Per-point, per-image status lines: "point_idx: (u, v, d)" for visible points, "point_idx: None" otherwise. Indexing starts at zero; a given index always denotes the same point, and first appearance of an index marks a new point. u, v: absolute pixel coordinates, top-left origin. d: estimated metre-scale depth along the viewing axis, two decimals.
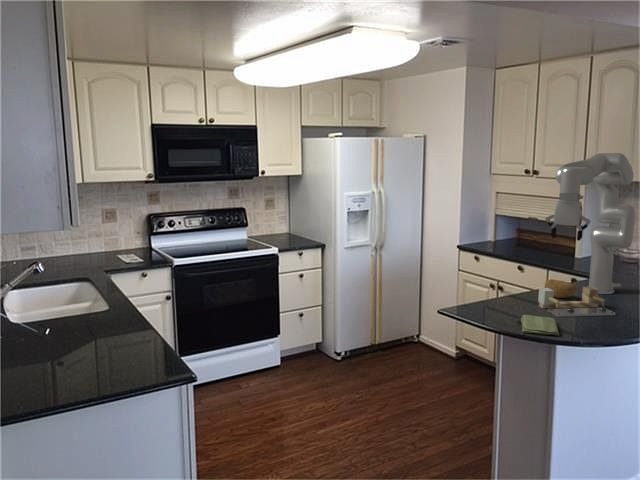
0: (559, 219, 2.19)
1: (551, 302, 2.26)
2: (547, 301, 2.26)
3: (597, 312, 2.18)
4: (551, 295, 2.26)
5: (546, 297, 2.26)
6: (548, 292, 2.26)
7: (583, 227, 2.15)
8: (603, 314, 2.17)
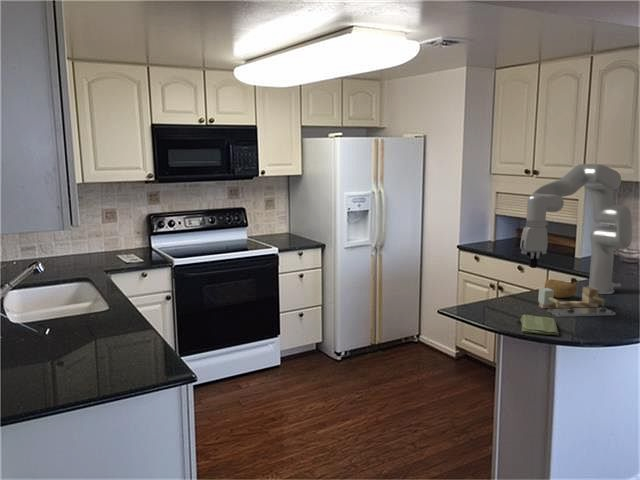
0: (530, 246, 2.22)
1: (551, 302, 2.26)
2: (547, 301, 2.26)
3: (597, 312, 2.18)
4: (551, 295, 2.26)
5: (546, 297, 2.26)
6: (548, 292, 2.26)
7: None
8: (603, 314, 2.17)
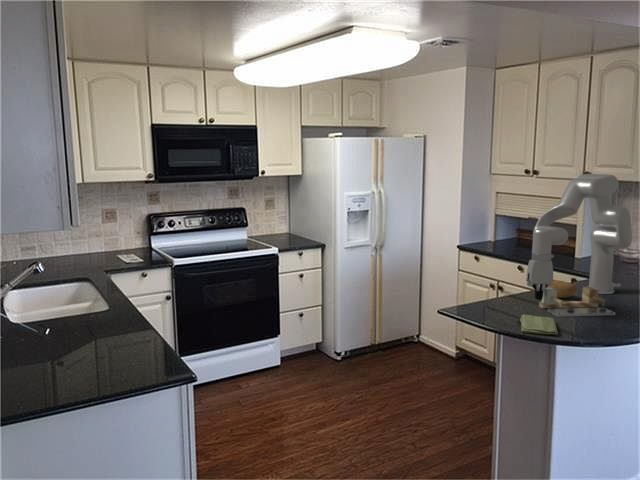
0: (536, 279, 2.24)
1: (554, 302, 2.27)
2: (550, 301, 2.26)
3: (597, 312, 2.18)
4: (554, 295, 2.26)
5: (549, 297, 2.26)
6: (551, 292, 2.26)
7: (544, 287, 2.27)
8: (603, 314, 2.17)
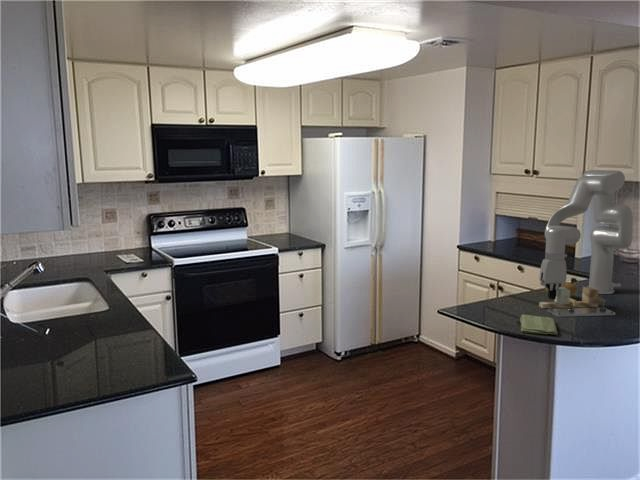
0: (550, 278, 2.25)
1: (568, 302, 2.27)
2: (564, 301, 2.27)
3: (597, 312, 2.18)
4: (568, 295, 2.27)
5: (563, 297, 2.26)
6: (565, 292, 2.26)
7: None
8: (603, 314, 2.17)
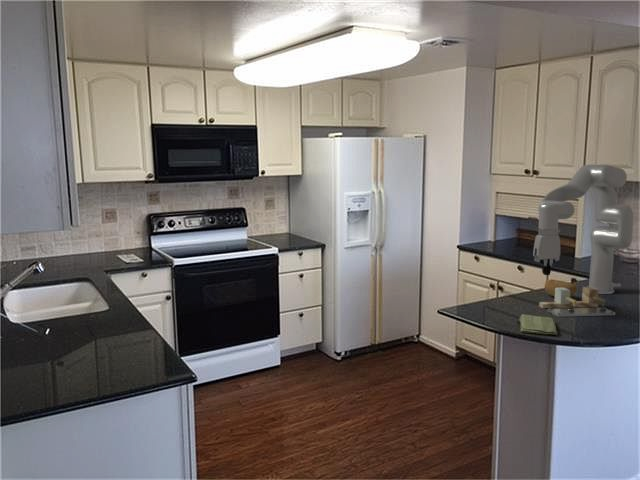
0: (543, 254, 2.23)
1: (568, 302, 2.27)
2: (564, 301, 2.27)
3: (597, 312, 2.18)
4: (568, 295, 2.27)
5: (563, 297, 2.26)
6: (565, 292, 2.26)
7: None
8: (603, 314, 2.17)
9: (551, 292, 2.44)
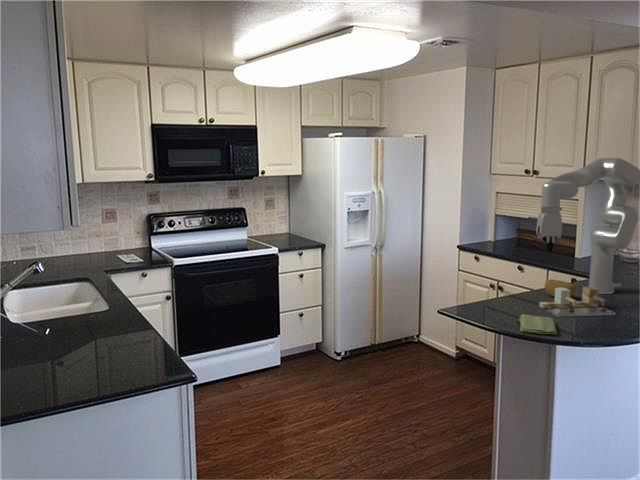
0: (546, 231, 2.34)
1: (568, 302, 2.27)
2: (564, 301, 2.27)
3: (597, 312, 2.18)
4: (568, 295, 2.27)
5: (563, 297, 2.26)
6: (565, 292, 2.26)
7: None
8: (603, 314, 2.17)
9: (551, 292, 2.44)
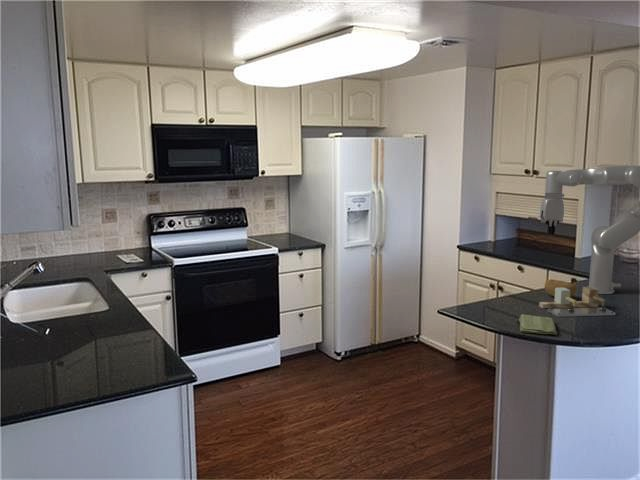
0: (549, 215, 2.54)
1: (568, 302, 2.27)
2: (564, 301, 2.27)
3: (597, 312, 2.18)
4: (568, 295, 2.27)
5: (563, 297, 2.26)
6: (565, 292, 2.26)
7: None
8: (603, 314, 2.17)
9: (551, 292, 2.44)
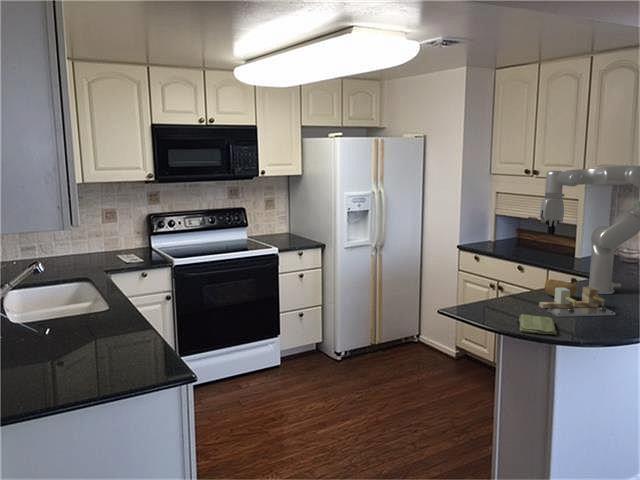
0: (549, 215, 2.54)
1: (568, 302, 2.27)
2: (564, 301, 2.27)
3: (597, 312, 2.18)
4: (568, 295, 2.27)
5: (563, 297, 2.26)
6: (565, 292, 2.26)
7: None
8: (603, 314, 2.17)
9: (551, 292, 2.44)
